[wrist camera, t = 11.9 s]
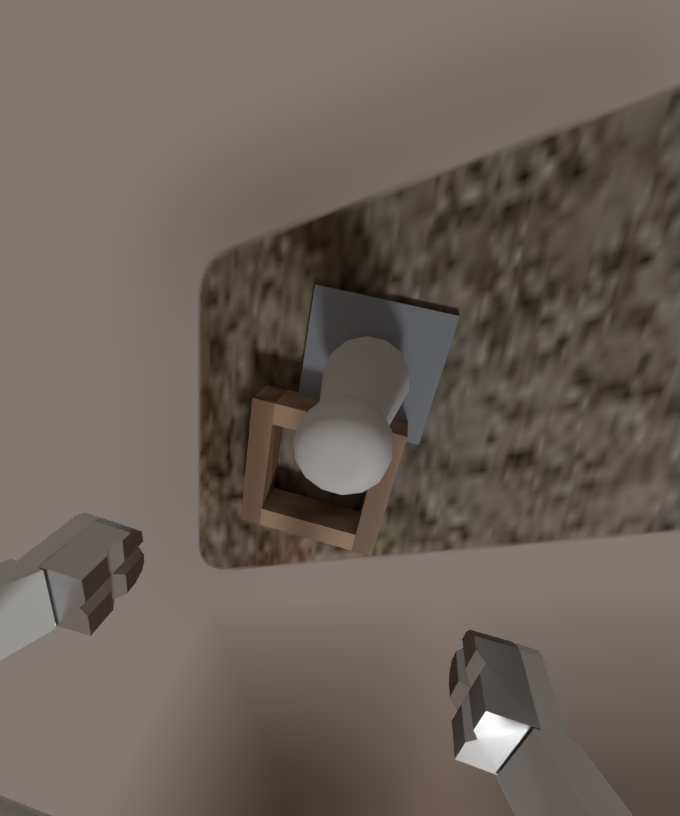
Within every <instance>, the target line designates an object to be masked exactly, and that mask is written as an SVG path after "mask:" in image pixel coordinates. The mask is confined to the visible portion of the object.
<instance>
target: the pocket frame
mask: <svg viewBox="0 0 680 816" xmlns="http://www.w3.org/2000/svg"><path fill="white" fill-rule="evenodd" d="M298 393H299V392H295V391H291V390H287V389H283V388H279V387H275V386H271V385H266V386H265V387H264V388H263V389H262V390H261V391H260V392H258V393H257V394H256V395H255V396H254V397H253V398H252V407H251V418H250V428H249V439H248V450H247V460H246V471H245V481H244V492H243V502H242V513H241V519H242V520H246V521H249V522H253V523H256V524H260V525H263V526H267V527H270V528H274V529H278V530H281V531H285V532H288V533H292V534H295V535H299V536H302V537H306V538H309V539H313V540H316V541H320V542H323V543H327V544H330V545H334V546H337V547H341V548H344V549H348V550H351V551H355V552H358V553H362V554H366V555H369V556H372V553H373V549H374V546H375V543H376V540H377V536H378V533H379V530H380V526H381V523H382V520H383V517H384V513H385V510H386V507H387V503H388V500H389V497H390V494H391V490H392V487H393V484H394V480H395V477H396V474H397V471H398V467H399V464H400V461H401V457H402V454H403V451H404V448H405V444H406V441H407V438H408V421H404V420H400V419H396V418H393V420H392V422H391V424H390V428H391V430H392V432H393V447H392V460H391V462H390V465H389V467H388V468H387V470H386V472H385V474H384V475H383V477H382V479H381V480H380V482H379V483H378V484H376V485H374V486H373V487H371V488H369V489H368V490H366V492H365V496H364V499H363V503H362V507H361V511H357V510H353V509H350V508H346V507H343V506H339V505H335V504H332V503H328V502H324V501H321V500H317V499H313V498H310V497H306V496H302V495H299V494H295V493H291V492H288V491H284V490H280V489H277V488H274V486H275V478H276V471H277V464H278V457H279V449H280V442H281V435H282V427H285V428H289V429H292V430H296V431H297V429H298V427H299V425H300V422H301V420H302V418H303V416H304V415H305V414H306V413H307V412H308V411H309V410H310V409H311V408H312V407H314V406H315V405H316V404H318V403H319V401H320V400H319V399H315V398H311V397H307V396H303V395H299V394H298Z"/></svg>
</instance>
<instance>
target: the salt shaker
mask: <svg viewBox="0 0 680 816" xmlns="http://www.w3.org/2000/svg"><path fill="white" fill-rule="evenodd" d="M409 383H410V370H409V368H408V366H407V364H406V362H405V360H404V358H403V355H402V353H401V352H400V351H399V350H397V349H396V348H395V347H394V346H392V345H391V344H390V343H389V342H388V341H386V340H383V339H378V338H374V337H369V336H365V337H360V338H355V339H351V340H347V341H345V342H344V343H343V344H342V345H340V346H339V347H338V348H337V349H336V350H335V351H333V352H332V353H331V355H330V358H329V360H328V362H327V364H326V366H325V368H324V372H323V379H322V387H321V394H320V401H319V403H318V404H316V405H315V406H314V407H312V408H311V409H310V410H309V411H308V412H307V413H306V414H305V415H304V416H303V418H302V420H301V422H300V425H299V427H298V429H297V431H296V433H295V437H294V441H293V444H294V453H295V461H296V463H297V464H298V466H299V468H300V469H301V471H302V473H303V474H304V476H305V478H307V479H308V480H310V481H311V482H312V483H314V484H315V485H317V486H318V487H319V488H321V489H322V490H326V491H329V492H333V493H336V494H340V495H347V494H355V493H362V492H364V491H366V490H368V489H369V488H371V487H373V486H374V485H376V484H378V483H379V482H380V480H381V479H382V477H383V475H384V474H385V472H386V470H387V468H388V467H389V465H390V462H391V460H392V447H393V432H392V430H391V428H390V424H391V422H392V420H393V418H394V417H395V415H396V413H397V411H398V409H399V408H400V406H401V404H402V402H403V401H404V399H405V397H406V395H407V393H408V392H409Z"/></svg>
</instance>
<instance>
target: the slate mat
mask: <svg viewBox="0 0 680 816" xmlns="http://www.w3.org/2000/svg"><path fill="white" fill-rule="evenodd" d="M459 318H460V316H459V315H455V314H451V313H446V312H442V311H437V310H433V309H428V308H423V307H419V306H414V305H410V304H405V303H401V302H396V301H391V300H387V299H382V298H378V297H373V296H369V295H364V294H360V293H355V292H350V291H346V290H341V289H337V288H332V287H328V286H323V285H318V284H315V288H314V294H313V301H312V307H311V314H310V321H309V327H308V334H307V340H306V347H305V354H304V360H303V367H302V373H301V380H300V387H299V393H298V394H299V395H303V396H307V397H311V398H315V399H319V400H320V394H321V387H322V379H323V372H324V368H325V366H326V364H327V362H328V360H329V358H330V355H331V353H332V352H333V351H335V350H336V349H337V348H338V347H339V346H340V345H342V344H343V343H344V342H345V341H347V340H351V339H355V338H360V337H365V336H369V337H374V338H378V339H383V340H386V341H388V342H389V343H390V344H391V345H392V346H394V347H395V348H396V349H397V350H399V351H400V352H401V353H402V355H403V358H404V360H405V362H406V364H407V366H408V368H409V370H410V383H409V392H408V393H407V395H406V397H405V399H404V401H403V402H402V404H401V406H400V408H399V409H398V411H397V413H396V415H395V417H394V418H396V419H400V420H404V421H408V438H407V441H406V442H409V443H413V444H417V445H419V442H420V439H421V436H422V433H423V430H424V427H425V424H426V421H427V418H428V414H429V411H430V408H431V405H432V402H433V399H434V396H435V393H436V390H437V386H438V383H439V380H440V377H441V374H442V371H443V368H444V365H445V362H446V359H447V355H448V352H449V349H450V346H451V343H452V340H453V337H454V334H455V331H456V327H457V324H458V321H459Z"/></svg>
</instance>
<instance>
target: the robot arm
mask: <svg viewBox="0 0 680 816" xmlns="http://www.w3.org/2000/svg"><path fill="white" fill-rule="evenodd" d="M142 542H143V536H142V531H139V530H136V529H133V528H130V527H127V526H124V525H121V524H118V523H115V522H112V521H109V520H106V519H103V518H100V517H97V516H94V515H91V514H87V513H82V514H79V515H76V516H75V517H74V518H72V519H71V520H70V521H68V522H67V523H66V524H65V525H63V526H62V527H60V528H59V529H58V530H56V531H55V532H54V533H53V534H51V535H50V536H49V537H47V538H46V539H45V540H43V541H42V542H41V543H40V544H38V545H37V546H35V547H34V548H33V549H32V550H30V551H29V552H28V553H27V554H25V555H24V556H23V557H21V558H20V559H19V560H17V561H15V560H12V559H10V560H7V561H4V562H2V563H0V660H1V659H3V658H5V657H7V656H9V655H10V654H12V653H14V652H15V651H17V650H19V649H21V648H22V647H24V646H26V645H27V644H29V643H31V642H33V641H34V640H36V639H38V638H40V637H41V636H43V635H45V634H47V633H48V632H50V631H52V630H53V629H55V628H56V625H57V626H60V627H63V628H67V629H70V630H73V631H77V632H80V633H83V634H87V635H90V636H91V635H92V634H93V633H94V632H95V630H96V629H97V628H98V627H99V626H100V625H101V623H102V622H103V621H104V620H105V619H106V617H107V616H108V615H109V614H110V613H111V612H112V611H113V608H114V599H116V598H118V597H120V596H122V595H124V594H127V593H128V592H129V590H130V589H131V588H132V587H133V586H134V584H135V583H136V581H137V579H138V577H139V575H140V574H141V572H142V569H143V564H144V554H143V553H142V551H141V550H140V548H139V547H138V546H139V545H140V544H141V543H142ZM462 641H463V648H462V649H460V650H458V651H456V652H455V655H454V657H453V659H452V662H451V667H450V672H449V693H450V698H451V700H452V702H453V703H454V706H455V707H456V709H457V712H456V714H455V716H454V718H453V719H452V731H453V742H454V754H455V759H456V760H458V761H461V762H464V763H467V764H469V765H472V766H475V767H477V768H480V769H483V770H485V771H488V772H491V773H493V774H496V775H497V776H496V778H497V781H498V783H499V785H500V787H501V789H502V791H503V793H504V795H505V797H506V799H507V801H508V803H509V805H510V807H511V809H512V811H513V813H514V815H515V816H633V815H632V814H631V813H630V811H629V810H628V808H627V807H626V806H625V805H624V803H623V802H622V801H621V799H620V798H619V797H618V795H617V794H616V793H615V791H614V790H613V789H612V787H611V786H610V785H609V784H608V782H607V781H606V780H605V778H604V777H603V776H602V775H601V773H600V772H599V770H598V769H597V768H596V766H595V765H594V764H593V762H592V761H591V760H590V758H589V757H588V756H587V755H586V753H585V752H584V750H583V749H582V748H581V747H580V745H579V744H578V743H577V742H574V741H571V740H570V739H569V736H568V733H567V730H566V727H565V724H564V720H563V717H562V714H561V712H560V708H559V705H558V702H557V699H556V696H555V693H554V690H553V687H552V684H551V681H550V678H549V674H548V671H547V669H546V665H545V662H544V659H543V656H542V655H541V653H540V652H539V651H538V650H535V649H532V648H529V647H526V646H522V645H519V644H515V643H513V642H511V641H507V640H504V639H500V638H497V637H493V636H490V635H486V634H483V633H479V632H476V631H472V630H469V631H467V632H466V633H465V635H464V637H463V639H462ZM0 816H51V815H49V814H47V813H44V812H41V811H39V810H36V809H34V808H31V807H29V806H26V805H24V804H21V803H19V802H16V801H14V800H11V799H9V798H6V797H4V796H1V795H0Z"/></svg>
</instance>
